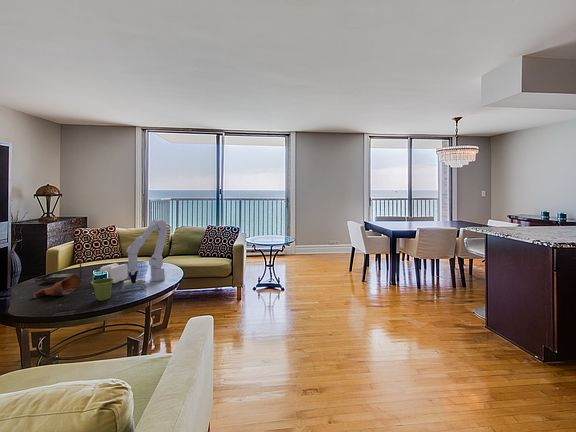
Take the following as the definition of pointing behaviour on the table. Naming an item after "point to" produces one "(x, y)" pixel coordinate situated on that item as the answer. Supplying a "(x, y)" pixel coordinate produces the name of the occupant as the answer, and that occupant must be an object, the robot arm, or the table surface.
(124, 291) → the board
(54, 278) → the black wireless router
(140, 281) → the tall beige pillar
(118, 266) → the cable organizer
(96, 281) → the plant pot
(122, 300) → the table surface
